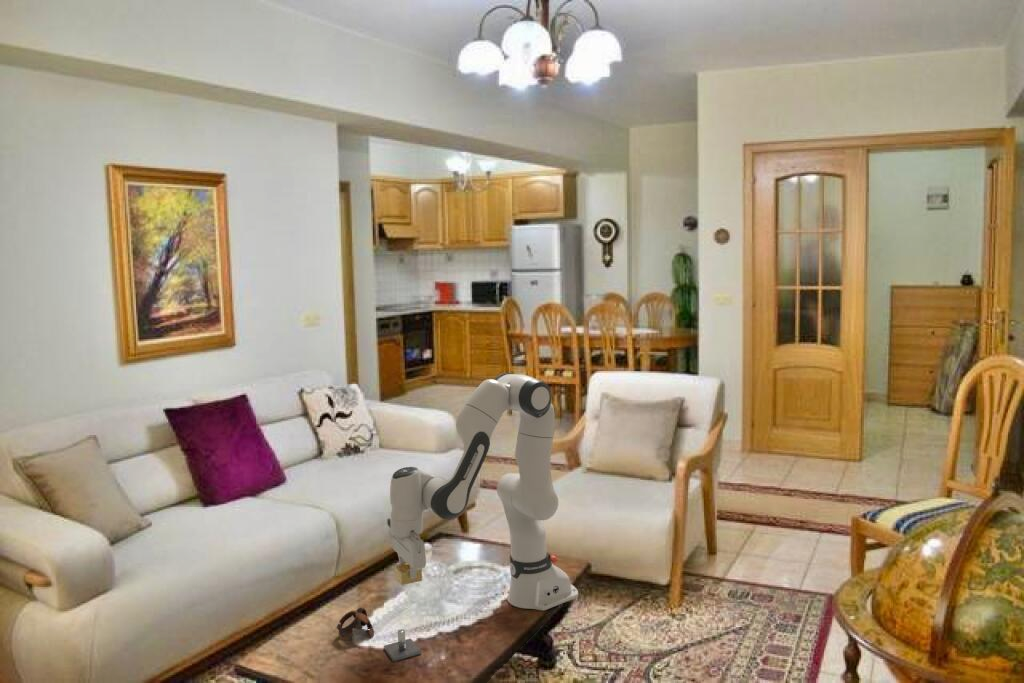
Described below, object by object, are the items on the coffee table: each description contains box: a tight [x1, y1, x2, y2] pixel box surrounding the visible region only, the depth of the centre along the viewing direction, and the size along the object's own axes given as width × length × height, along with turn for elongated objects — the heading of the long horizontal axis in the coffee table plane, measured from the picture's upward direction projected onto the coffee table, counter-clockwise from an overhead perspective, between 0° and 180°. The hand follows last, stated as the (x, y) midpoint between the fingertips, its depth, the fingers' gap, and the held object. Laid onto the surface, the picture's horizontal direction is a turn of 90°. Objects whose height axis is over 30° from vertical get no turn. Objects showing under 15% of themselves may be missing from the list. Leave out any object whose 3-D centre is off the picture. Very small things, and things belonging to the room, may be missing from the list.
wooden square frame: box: [394, 563, 423, 586], centre depth 231 cm, size 6×6×4 cm
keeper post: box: [383, 628, 422, 663], centre depth 228 cm, size 8×8×6 cm
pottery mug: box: [336, 607, 375, 638], centre depth 239 cm, size 12×10×8 cm
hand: (408, 573), depth 231 cm, fingers closed on wooden square frame, 6 cm apart
